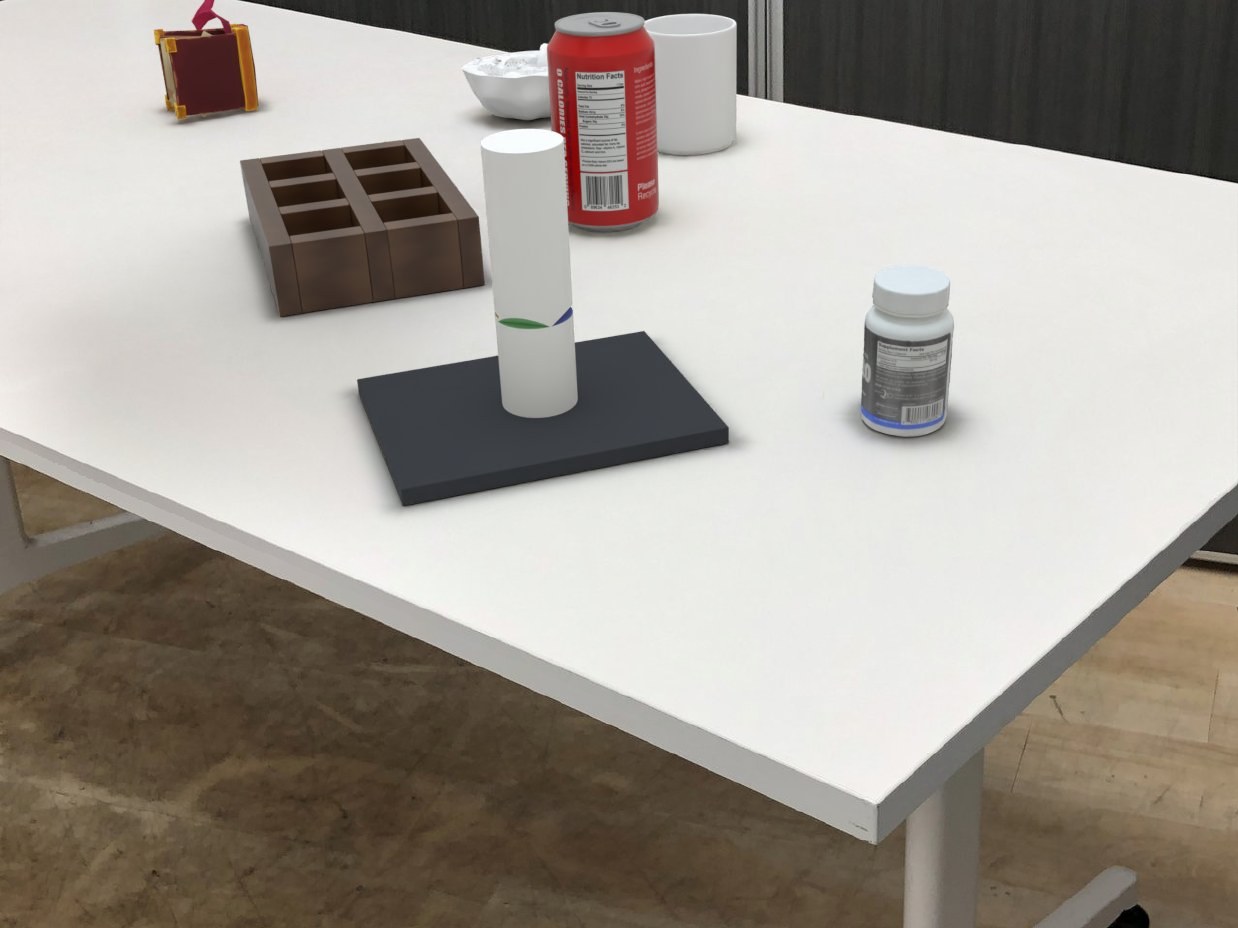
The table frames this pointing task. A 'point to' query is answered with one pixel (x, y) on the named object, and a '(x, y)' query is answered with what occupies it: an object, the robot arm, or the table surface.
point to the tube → (530, 270)
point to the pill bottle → (907, 351)
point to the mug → (694, 82)
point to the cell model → (512, 84)
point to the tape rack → (360, 226)
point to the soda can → (605, 118)
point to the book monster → (207, 67)
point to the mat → (533, 420)
